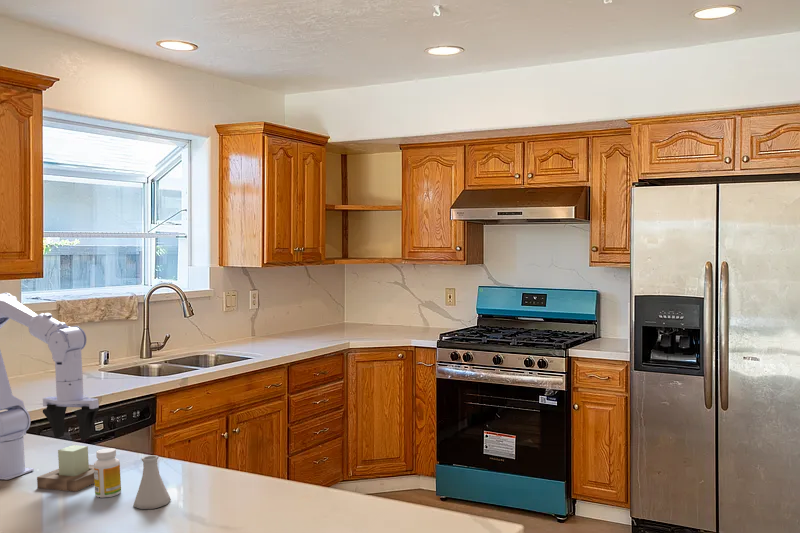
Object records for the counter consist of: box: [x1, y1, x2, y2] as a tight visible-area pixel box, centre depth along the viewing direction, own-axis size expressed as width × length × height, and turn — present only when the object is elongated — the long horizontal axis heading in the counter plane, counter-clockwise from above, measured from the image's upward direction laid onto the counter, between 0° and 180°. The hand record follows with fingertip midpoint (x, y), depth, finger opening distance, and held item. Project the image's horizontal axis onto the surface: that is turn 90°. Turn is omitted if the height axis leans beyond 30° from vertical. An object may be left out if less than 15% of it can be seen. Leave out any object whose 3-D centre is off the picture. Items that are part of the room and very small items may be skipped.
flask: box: [132, 454, 172, 510], centre depth 160 cm, size 7×7×10 cm
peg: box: [57, 444, 90, 476], centre depth 177 cm, size 4×4×8 cm
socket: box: [36, 464, 95, 492], centre depth 177 cm, size 11×11×2 cm
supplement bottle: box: [93, 447, 122, 499], centre depth 168 cm, size 5×5×10 cm
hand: (72, 437), depth 177 cm, fingers open, 7 cm apart
